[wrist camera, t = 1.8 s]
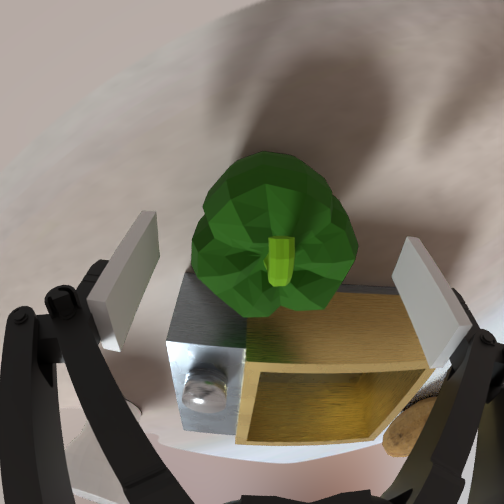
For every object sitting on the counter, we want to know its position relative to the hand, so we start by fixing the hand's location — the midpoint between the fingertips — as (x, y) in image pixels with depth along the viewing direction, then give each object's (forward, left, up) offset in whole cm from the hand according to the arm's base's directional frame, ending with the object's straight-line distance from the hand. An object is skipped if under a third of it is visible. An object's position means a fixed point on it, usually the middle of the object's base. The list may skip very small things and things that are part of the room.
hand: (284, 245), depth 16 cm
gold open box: (+3, -14, -6) cm, 16 cm away
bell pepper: (0, 0, -6) cm, 6 cm away
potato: (+26, -29, -6) cm, 39 cm away
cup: (-18, -33, -6) cm, 38 cm away
